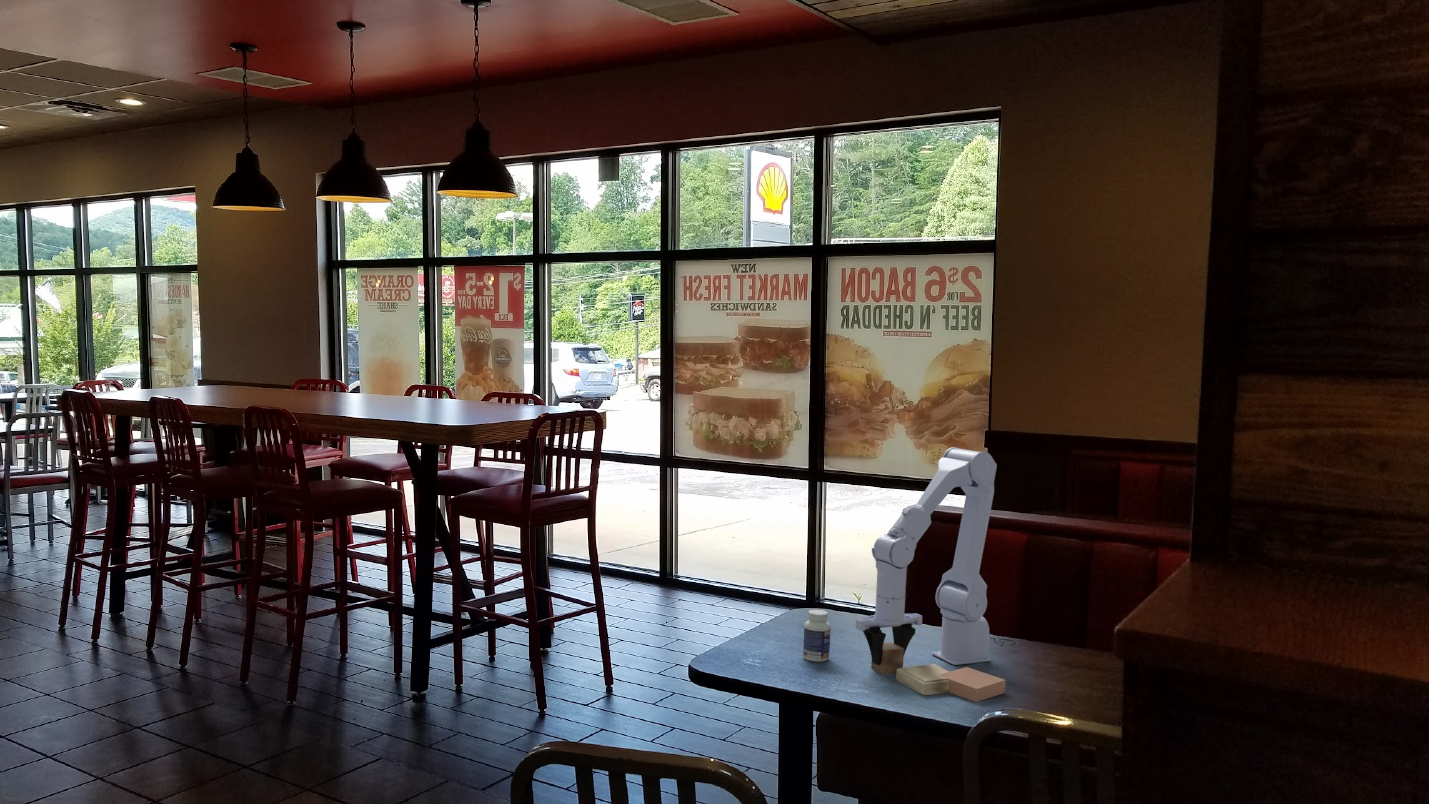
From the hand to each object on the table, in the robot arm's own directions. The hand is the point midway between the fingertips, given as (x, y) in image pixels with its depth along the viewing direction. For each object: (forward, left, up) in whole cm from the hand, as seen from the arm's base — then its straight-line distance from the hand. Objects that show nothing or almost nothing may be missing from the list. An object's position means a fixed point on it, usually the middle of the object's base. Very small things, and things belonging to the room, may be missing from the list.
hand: (887, 662), depth 203 cm
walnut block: (0, 0, -2) cm, 2 cm away
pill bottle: (+10, -11, -2) cm, 15 cm away
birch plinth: (-3, +10, -2) cm, 11 cm away
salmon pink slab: (-9, +15, -2) cm, 18 cm away
